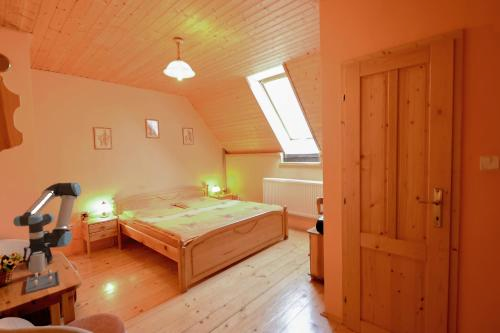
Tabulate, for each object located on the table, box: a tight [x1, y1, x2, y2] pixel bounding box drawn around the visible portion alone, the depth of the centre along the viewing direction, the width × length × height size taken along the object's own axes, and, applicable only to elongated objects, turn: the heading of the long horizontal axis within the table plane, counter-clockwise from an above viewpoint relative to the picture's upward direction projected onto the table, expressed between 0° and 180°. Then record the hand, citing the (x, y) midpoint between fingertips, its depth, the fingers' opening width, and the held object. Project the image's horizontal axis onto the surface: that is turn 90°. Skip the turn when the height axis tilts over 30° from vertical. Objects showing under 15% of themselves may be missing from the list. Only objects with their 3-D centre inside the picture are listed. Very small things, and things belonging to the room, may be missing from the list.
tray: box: [24, 269, 60, 295], centre depth 159 cm, size 22×16×5 cm
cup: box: [30, 251, 47, 274], centre depth 171 cm, size 8×8×12 cm
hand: (38, 269), depth 171 cm, fingers closed on cup, 8 cm apart
